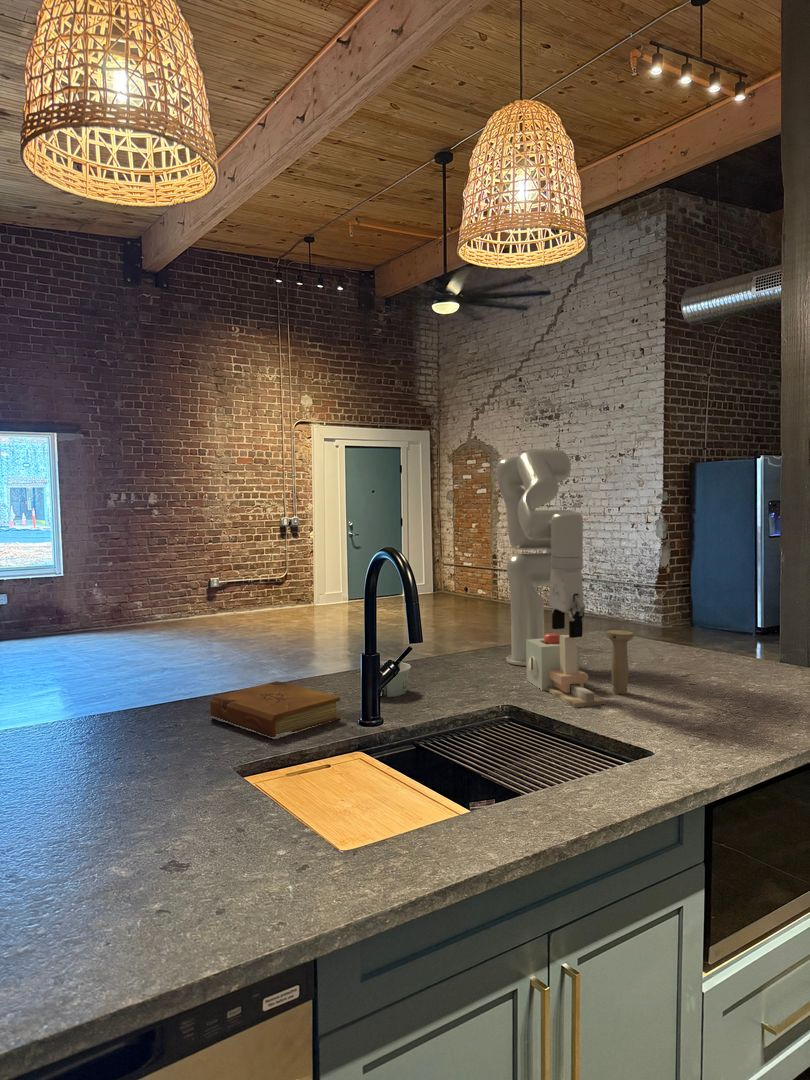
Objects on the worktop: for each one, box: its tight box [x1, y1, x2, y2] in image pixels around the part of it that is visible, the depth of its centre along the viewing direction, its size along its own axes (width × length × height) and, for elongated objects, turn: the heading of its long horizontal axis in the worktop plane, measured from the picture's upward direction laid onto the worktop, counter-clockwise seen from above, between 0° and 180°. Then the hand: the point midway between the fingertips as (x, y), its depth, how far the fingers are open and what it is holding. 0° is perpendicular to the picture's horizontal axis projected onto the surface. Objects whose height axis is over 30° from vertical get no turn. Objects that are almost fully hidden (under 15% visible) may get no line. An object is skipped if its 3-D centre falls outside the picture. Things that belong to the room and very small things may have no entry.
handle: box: [605, 629, 634, 695], centre depth 183 cm, size 5×6×15 cm
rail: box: [546, 684, 607, 709], centre depth 180 cm, size 16×8×3 cm, turn 13°
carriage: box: [549, 634, 589, 693], centre depth 183 cm, size 7×7×13 cm
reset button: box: [544, 633, 561, 644], centre depth 193 cm, size 4×4×3 cm
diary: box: [209, 680, 342, 737], centre depth 169 cm, size 23×19×6 cm
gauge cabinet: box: [525, 638, 580, 691], centre depth 193 cm, size 10×11×11 cm
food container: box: [380, 661, 412, 698], centre depth 190 cm, size 12×12×6 cm
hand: (566, 632), depth 184 cm, fingers open, 9 cm apart
